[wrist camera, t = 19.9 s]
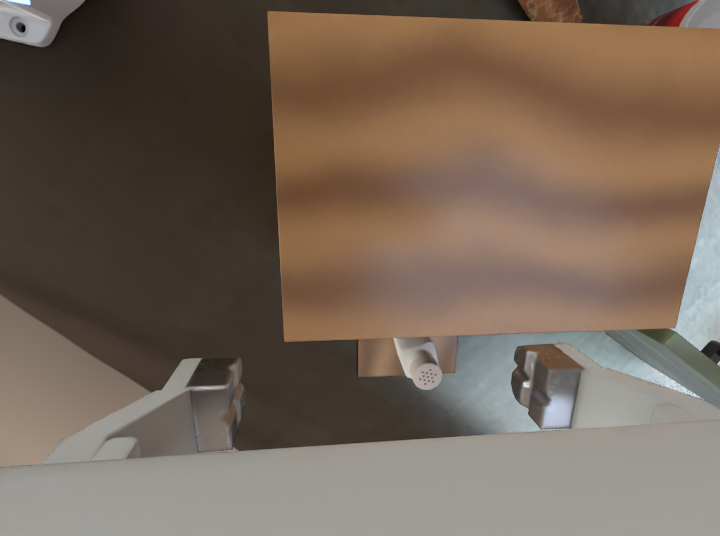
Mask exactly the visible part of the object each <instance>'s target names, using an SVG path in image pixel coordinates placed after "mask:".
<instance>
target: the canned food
mask: <svg viewBox="0 0 720 536" xmlns="http://www.w3.org/2000/svg"><path fill="white" fill-rule="evenodd" d="M639 26H664V27H690V28H716V29H720V0H696V1H694V2H691V3H689V4H687V5H685V6H682V7H680V8H678V9H676V10H673V11H671V12H669V13H666V14H664V15H662V16H660V17H657V18H655V19H653V20H650V21H648V22H646V23H644V24H641V25H639Z"/></svg>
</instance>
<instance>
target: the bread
mask: <svg viewBox="0 0 720 536" xmlns="http://www.w3.org/2000/svg"><path fill="white" fill-rule="evenodd" d="M518 2H519V3H520V5H521V6H522V8H523V10H524V11H525V13H526V14H527V16H528V17H529V19H530V20H531V21H534V22H560V23H582V21H583V20H584V19H583V15H582V13H581V10H580V8H579V5H578V2H577V0H518Z"/></svg>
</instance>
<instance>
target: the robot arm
mask: <svg viewBox="0 0 720 536" xmlns="http://www.w3.org/2000/svg"><path fill="white" fill-rule="evenodd" d="M84 1H85V0H0V38H2V39H7V40H11V41H15V42H20V43H24V44H29V45H33V46H38V47H46V46H48V45H50V44H51V43H52V41H53V40H54V38H55V36H56V34H57V32H58V30H59V28H60V25H61V23H62V21H63V20H64V19H65V18H66V17H67V16H68V15H69V14H70V13H72V12H73V11H74V10H76V9H77V8H78V7H79V6H80V5H82V4H83V2H84ZM23 25H25V27H26V30H25V32H22V26H23ZM514 361H515V362H516V364H517V365H518V366H517V368H516V369H515V370H514V371H513V372H512V379H511V385H512V390H513V394H514V396H515V398H516V400H517V401H518V402H519V403H520V404H521V405H523V406H525V407H527V408H528V409H529V412H528V414H529V416H530V417H531V418H532V419H533V420H534V422H535V423H536V424H537V425H538V426H539V428H540V429H567V428H570V429H567V430H552V431H537V432H522V433H507V434H492V435H477V436H462V437H447V438H431V439H416V440H401V441H386V442H371V443H355V444H340V445H325V446H310V447H295V448H279V449H264V450H249V451H234V452H220V453H205V454H198V453H202V452H213V451H223V450H233V446H234V443H235V440H236V436H237V433H238V427H237V423H239V422H240V421H241V419H242V415H243V410H244V386H243V385H242V384H241V383H240V378H241V375H242V372H243V371H242V362H241V359H240V357H237V358H204V359H203V358H194V359H183V360H182V361H181V363H180V364H179V366H178V367H177V369H176V370H175V371H174V373H173V374H172V376H171V377H170V379H169V380H168V382H167V383H166V385H165V386H164V388H163V389H162V390H160V391H154V392H152V393H150V394H149V395H147V396H145V397H143V398H141V399H139V400H137V401H135V402H133V403H131V404H129V405H127V406H126V407H124V408H122V409H120V410H118V411H116V412H114V413H112V414H110V415H108V416H106V417H104V418H102V419H101V420H99V421H97V422H95V423H93V424H91V425H89V426H87V427H85V428H83V429H81V430H79V431H78V432H76V433H74V434H72V435H70V436H68V437H66V438H64V439H62V440H61V442H60V443H59V444H58V445H57V446H56V447H55V448H54V449H53V451H52V452H51V453H50V454H49V455H48V456H47V457H46V458H45V459H44V460H43V461H42V462H41V464H39V465H26V466H9V467H0V536H720V409H719V408H717V407H716V406H714V405H713V404H711V403H709V402H708V401H706V400H703V399H700V398H697V397H694V396H691V395H687V394H684V393H681V392H678V391H675V390H672V389H669V388H666V387H663V386H660V385H657V384H654V383H651V382H648V381H645V380H642V379H639V378H636V377H633V376H630V375H627V374H624V373H621V372H618V371H615V370H612V369H609V368H607V369H603V368H602V367H601V366H599V365H598V364H597V363H595V362H594V361H593V360H591V359H590V358H588V357H587V356H586V355H584V354H583V353H582V352H580V351H579V350H577V349H576V348H575V347H573V346H572V345H571V344H568V343H558V344H540V345H525V346H519V347H517V349H516V351H515V355H514Z"/></svg>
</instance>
